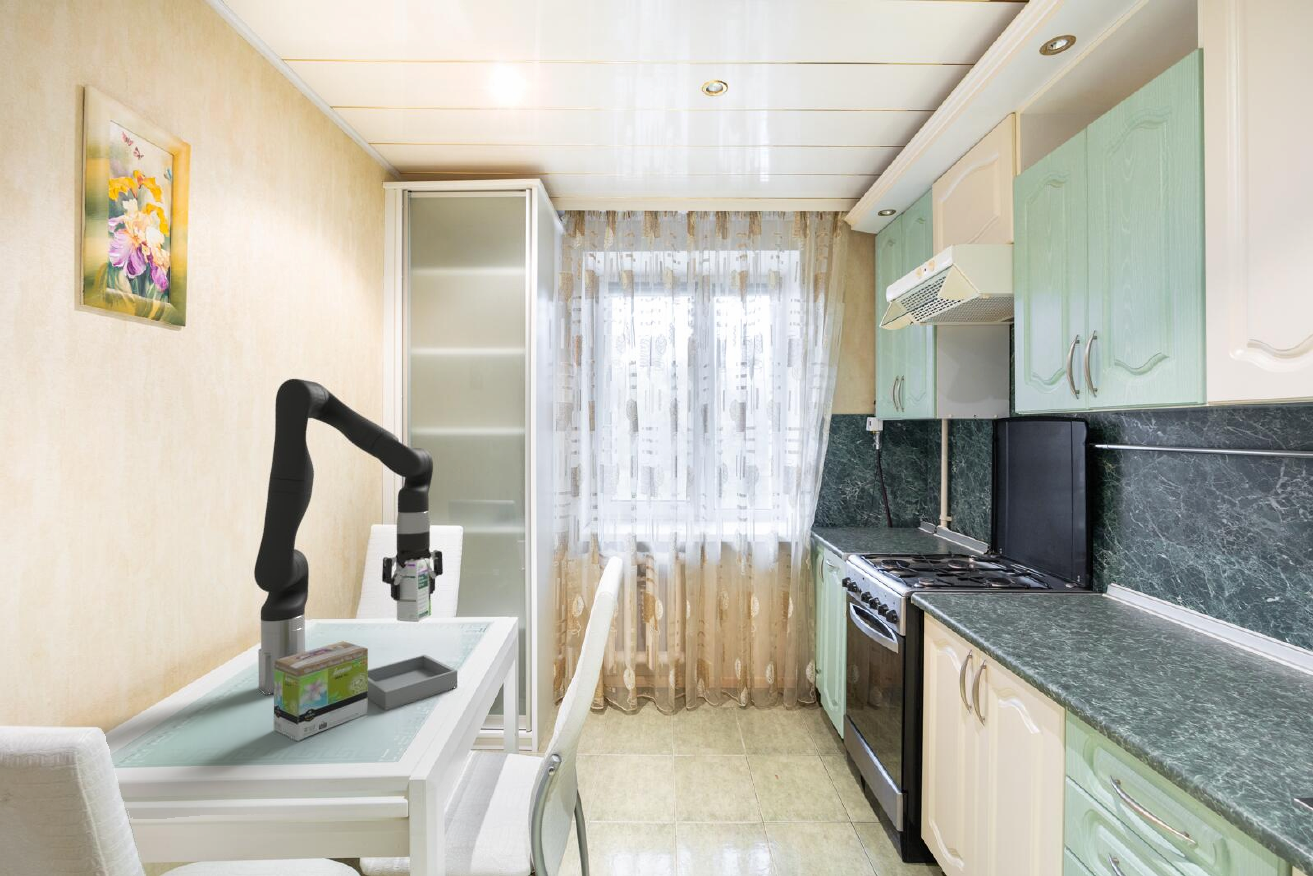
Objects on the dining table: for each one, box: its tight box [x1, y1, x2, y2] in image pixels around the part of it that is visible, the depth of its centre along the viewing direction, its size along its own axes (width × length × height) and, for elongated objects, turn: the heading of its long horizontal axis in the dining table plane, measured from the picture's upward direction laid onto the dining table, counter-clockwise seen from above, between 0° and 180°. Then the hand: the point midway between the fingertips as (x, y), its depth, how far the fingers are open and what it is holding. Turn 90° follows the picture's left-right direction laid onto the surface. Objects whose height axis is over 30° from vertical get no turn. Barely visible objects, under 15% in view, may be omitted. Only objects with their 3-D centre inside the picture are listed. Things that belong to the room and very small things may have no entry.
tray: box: [367, 654, 458, 711], centre depth 146 cm, size 17×17×4 cm
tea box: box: [273, 640, 369, 742], centre depth 129 cm, size 15×10×15 cm, turn 148°
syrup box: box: [395, 558, 432, 623], centre depth 148 cm, size 6×6×14 cm
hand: (413, 596), depth 148 cm, fingers closed on syrup box, 8 cm apart
